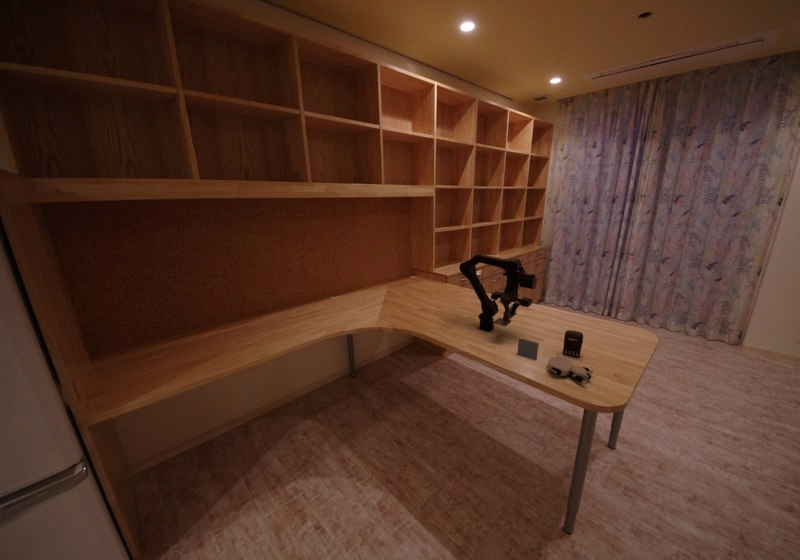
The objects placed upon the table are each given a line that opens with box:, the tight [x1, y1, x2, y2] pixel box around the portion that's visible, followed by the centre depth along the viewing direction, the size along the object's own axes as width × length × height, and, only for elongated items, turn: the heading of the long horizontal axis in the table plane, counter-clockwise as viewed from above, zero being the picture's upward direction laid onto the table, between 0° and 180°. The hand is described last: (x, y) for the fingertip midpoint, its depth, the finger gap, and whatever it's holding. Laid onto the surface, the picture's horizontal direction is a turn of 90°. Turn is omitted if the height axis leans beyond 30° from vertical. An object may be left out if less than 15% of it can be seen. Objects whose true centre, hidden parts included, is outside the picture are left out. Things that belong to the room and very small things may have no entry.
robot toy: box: [545, 353, 594, 385], centre depth 115 cm, size 12×4×15 cm
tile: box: [517, 336, 540, 361], centre depth 128 cm, size 8×1×8 cm, turn 50°
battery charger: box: [562, 329, 584, 359], centre depth 127 cm, size 7×4×11 cm, turn 57°
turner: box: [493, 306, 517, 327], centre depth 143 cm, size 6×17×4 cm, turn 137°
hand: (509, 314), depth 146 cm, fingers closed on turner, 2 cm apart
